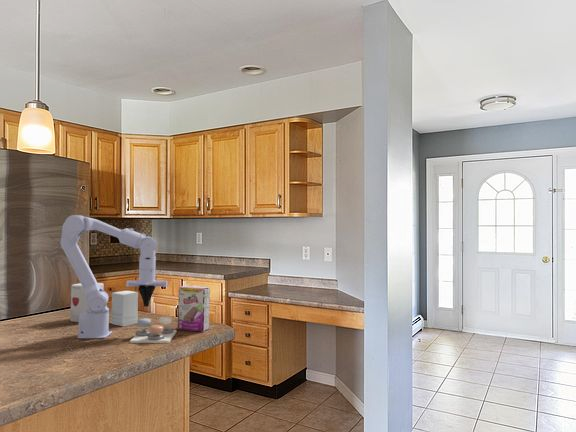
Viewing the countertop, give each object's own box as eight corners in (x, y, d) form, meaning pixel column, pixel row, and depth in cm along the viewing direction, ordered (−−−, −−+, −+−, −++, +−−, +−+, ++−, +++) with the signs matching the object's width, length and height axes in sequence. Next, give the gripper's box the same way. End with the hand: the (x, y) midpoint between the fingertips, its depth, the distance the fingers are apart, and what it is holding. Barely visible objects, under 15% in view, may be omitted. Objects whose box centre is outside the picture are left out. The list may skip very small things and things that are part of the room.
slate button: (135, 326, 151) (135, 321, 151) (139, 323, 155) (139, 318, 155) (148, 326, 151) (149, 321, 151) (152, 323, 156) (152, 318, 156)
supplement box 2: (138, 323, 172) (138, 291, 172) (122, 326, 166) (123, 294, 166) (126, 320, 176) (127, 290, 176) (110, 324, 170) (111, 292, 170)
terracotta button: (147, 334, 146) (148, 328, 146) (151, 330, 151) (151, 324, 151) (161, 334, 146) (161, 328, 146) (164, 330, 151) (164, 324, 151)
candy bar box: (177, 329, 163) (178, 286, 164) (183, 326, 168) (184, 285, 168) (203, 332, 160) (204, 288, 160) (209, 329, 165) (210, 286, 165)
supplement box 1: (69, 321, 173) (70, 284, 173) (85, 316, 181) (86, 281, 182) (87, 323, 170) (88, 285, 170) (103, 318, 179) (104, 282, 179)
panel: (129, 342, 145) (129, 335, 145) (140, 332, 159) (140, 325, 159) (168, 342, 146) (169, 335, 146) (176, 332, 160) (176, 325, 160)
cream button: (157, 324, 154) (157, 319, 154) (160, 321, 159) (160, 316, 159) (170, 324, 154) (170, 319, 154) (173, 321, 159) (173, 316, 159)
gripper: (123, 270, 154) (123, 308, 154) (164, 270, 155) (164, 308, 155) (129, 268, 161) (129, 304, 161) (168, 268, 162) (168, 304, 162)
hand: (146, 306), depth 158 cm, fingers closed
